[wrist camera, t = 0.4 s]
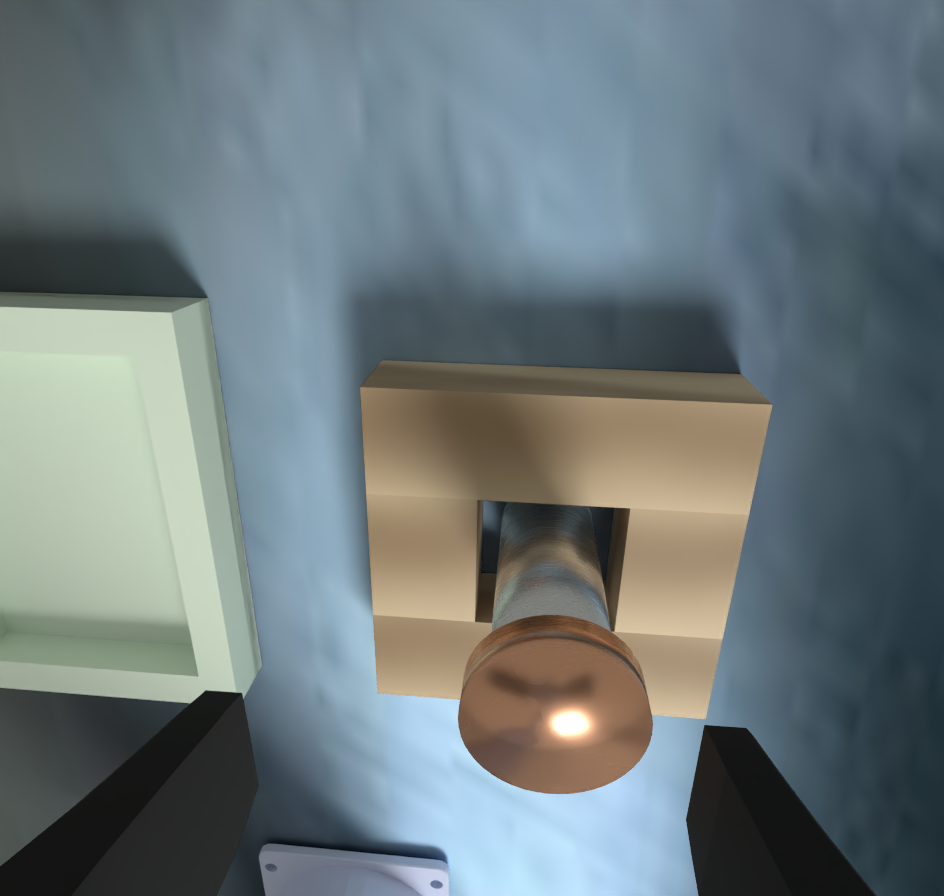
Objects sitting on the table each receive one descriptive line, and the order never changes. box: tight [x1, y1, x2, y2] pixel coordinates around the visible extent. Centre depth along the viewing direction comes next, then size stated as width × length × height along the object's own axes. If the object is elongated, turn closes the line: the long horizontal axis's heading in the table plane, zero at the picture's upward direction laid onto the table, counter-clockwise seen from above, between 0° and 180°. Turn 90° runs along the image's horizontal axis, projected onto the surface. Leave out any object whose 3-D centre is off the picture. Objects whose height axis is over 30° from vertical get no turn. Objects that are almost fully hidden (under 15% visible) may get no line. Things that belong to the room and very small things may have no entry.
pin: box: [458, 502, 653, 794], centre depth 16 cm, size 4×4×8 cm
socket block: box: [360, 360, 772, 719], centre depth 19 cm, size 10×10×2 cm
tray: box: [0, 292, 262, 703], centre depth 20 cm, size 13×10×2 cm
